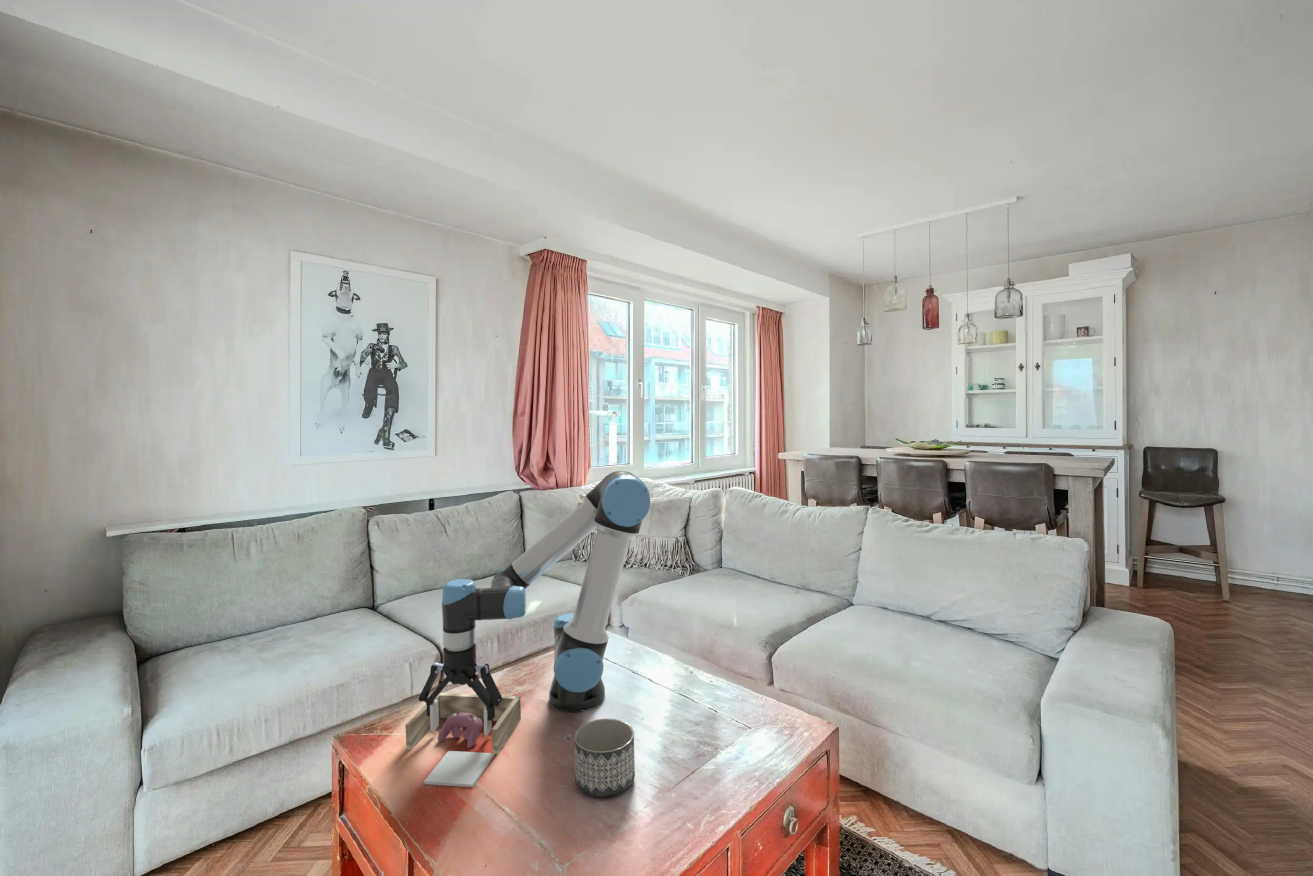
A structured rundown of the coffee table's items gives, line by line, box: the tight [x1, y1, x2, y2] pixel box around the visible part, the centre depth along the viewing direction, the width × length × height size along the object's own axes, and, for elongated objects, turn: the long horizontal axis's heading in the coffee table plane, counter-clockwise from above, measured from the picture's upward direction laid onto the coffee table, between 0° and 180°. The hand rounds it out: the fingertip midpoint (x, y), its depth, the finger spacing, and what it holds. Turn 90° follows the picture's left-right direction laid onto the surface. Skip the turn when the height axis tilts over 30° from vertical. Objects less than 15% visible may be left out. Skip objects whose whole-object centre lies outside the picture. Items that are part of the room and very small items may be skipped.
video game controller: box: [437, 713, 484, 749], centre depth 140 cm, size 10×5×7 cm, turn 71°
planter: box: [573, 718, 636, 798], centre depth 123 cm, size 13×13×10 cm
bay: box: [405, 692, 522, 755], centre depth 142 cm, size 22×15×6 cm
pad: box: [423, 750, 495, 788], centre depth 128 cm, size 11×11×1 cm
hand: (461, 730), depth 141 cm, fingers open, 13 cm apart
